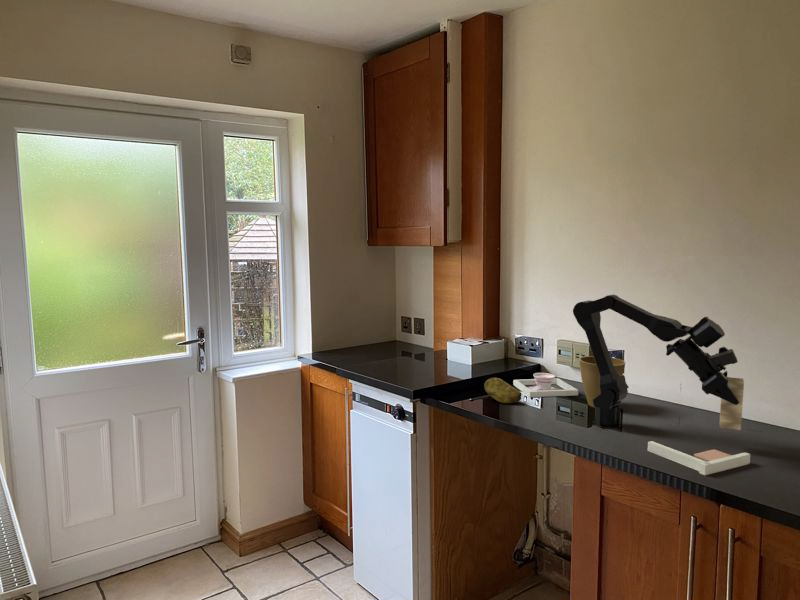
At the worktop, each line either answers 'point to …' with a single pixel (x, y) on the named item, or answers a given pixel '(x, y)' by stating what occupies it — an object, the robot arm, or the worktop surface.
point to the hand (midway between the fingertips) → (737, 401)
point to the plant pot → (595, 376)
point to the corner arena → (713, 457)
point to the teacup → (543, 382)
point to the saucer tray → (546, 393)
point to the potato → (502, 391)
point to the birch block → (732, 406)
